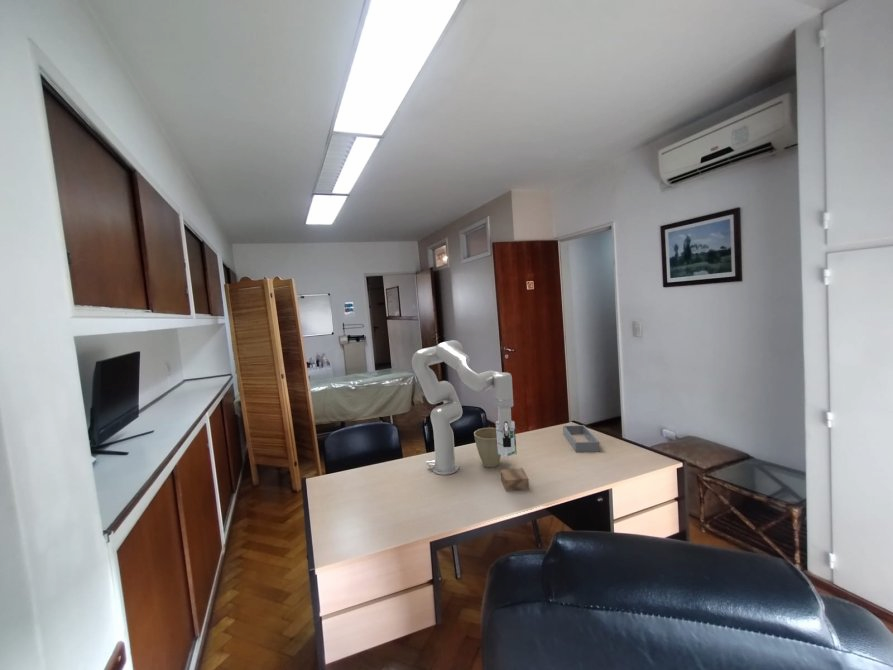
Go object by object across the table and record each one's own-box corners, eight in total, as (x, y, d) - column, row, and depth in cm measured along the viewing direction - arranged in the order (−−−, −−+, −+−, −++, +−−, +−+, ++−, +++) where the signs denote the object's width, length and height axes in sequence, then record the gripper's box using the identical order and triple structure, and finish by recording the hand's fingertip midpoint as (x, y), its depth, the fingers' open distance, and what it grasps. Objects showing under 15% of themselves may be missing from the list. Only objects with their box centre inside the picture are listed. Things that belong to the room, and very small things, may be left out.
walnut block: (505, 491, 160) (505, 480, 159) (500, 480, 170) (500, 470, 169) (528, 489, 160) (528, 478, 160) (522, 478, 170) (522, 468, 170)
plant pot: (470, 468, 183) (469, 436, 182) (482, 456, 196) (480, 426, 195) (500, 473, 176) (498, 440, 175) (510, 460, 189) (508, 429, 188)
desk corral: (575, 452, 194) (575, 442, 194) (563, 434, 220) (562, 425, 219) (599, 451, 193) (599, 442, 193) (584, 433, 219) (584, 425, 219)
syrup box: (507, 458, 156) (504, 424, 155) (497, 454, 161) (495, 420, 160) (516, 454, 159) (515, 420, 158) (507, 450, 164) (505, 417, 163)
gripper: (494, 397, 167) (496, 436, 169) (495, 408, 150) (498, 451, 151) (511, 396, 166) (513, 435, 168) (514, 407, 149) (517, 450, 151)
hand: (506, 442), depth 160 cm, fingers closed on syrup box, 7 cm apart
